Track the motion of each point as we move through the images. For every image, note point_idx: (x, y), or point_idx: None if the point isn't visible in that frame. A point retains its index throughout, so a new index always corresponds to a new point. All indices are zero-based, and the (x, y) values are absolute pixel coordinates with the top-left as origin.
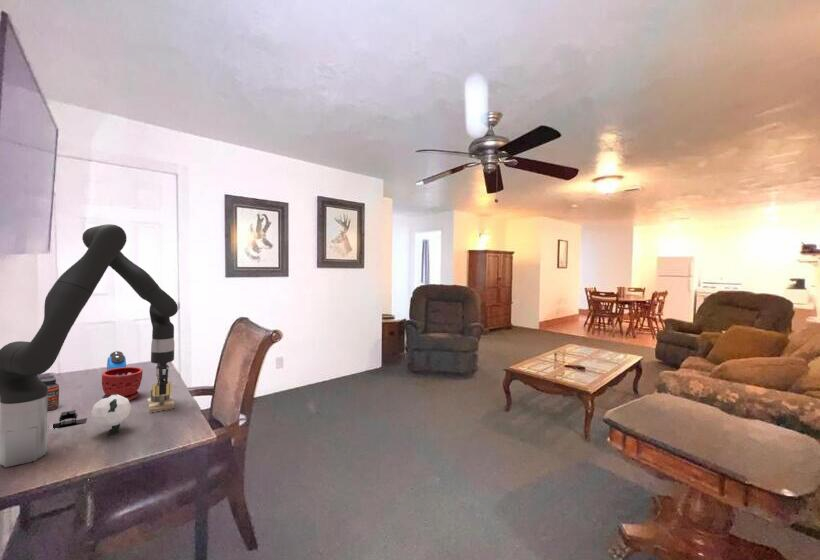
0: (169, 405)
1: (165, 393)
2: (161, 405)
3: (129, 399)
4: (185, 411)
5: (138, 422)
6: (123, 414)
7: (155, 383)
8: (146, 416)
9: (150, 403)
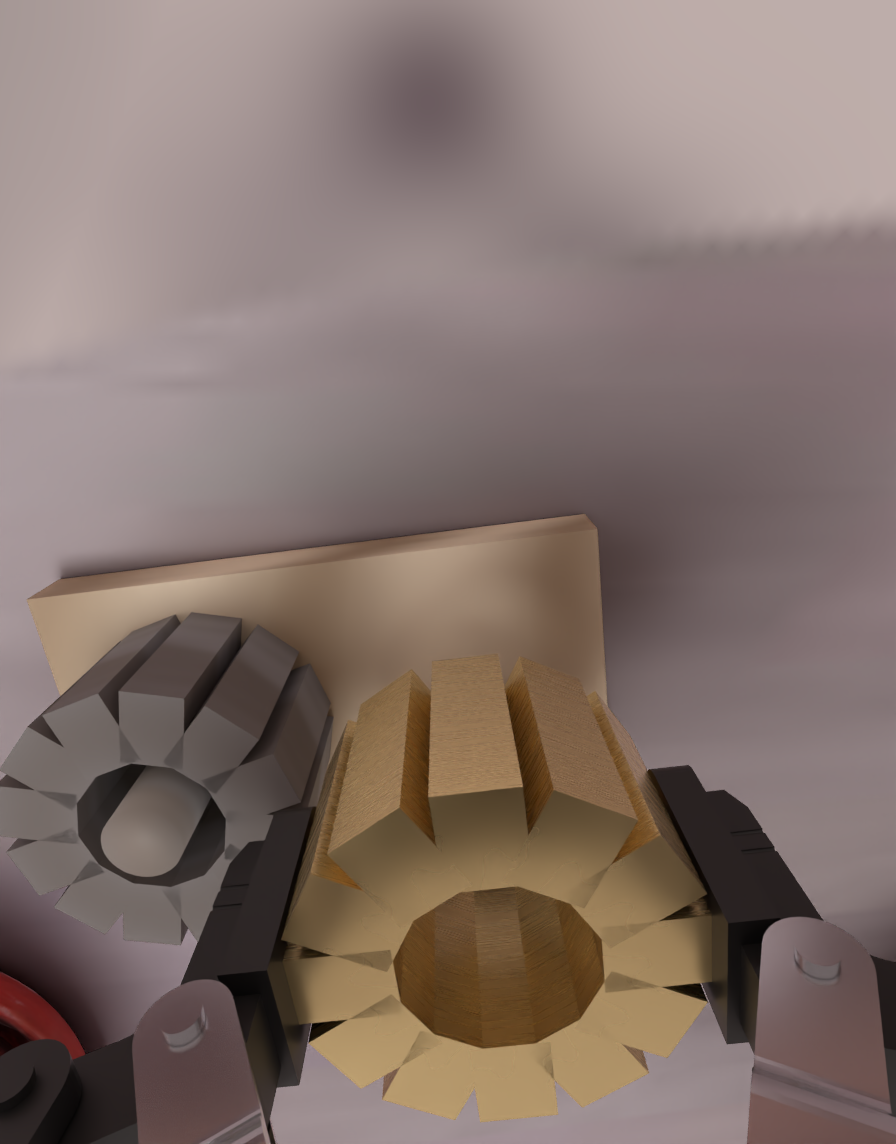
0: (581, 598)
1: (691, 773)
2: None
3: (43, 1002)
4: (782, 369)
5: (838, 842)
6: None
7: (400, 1081)
8: None
9: None
